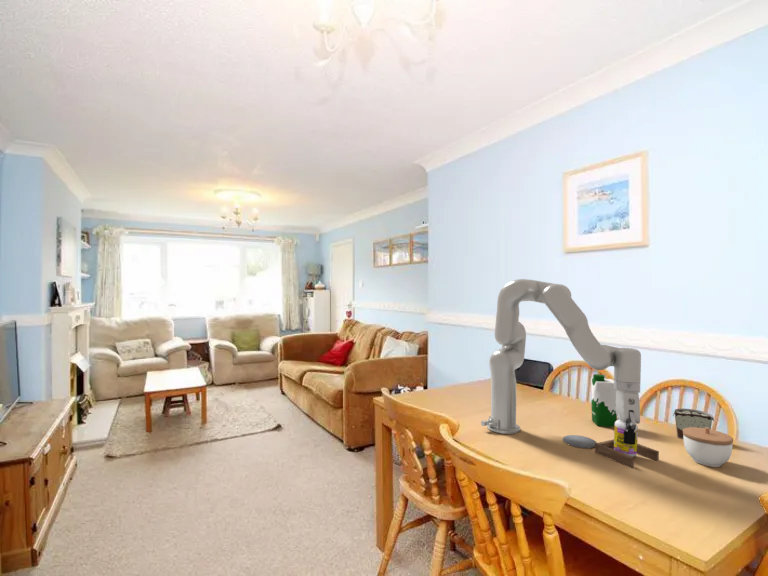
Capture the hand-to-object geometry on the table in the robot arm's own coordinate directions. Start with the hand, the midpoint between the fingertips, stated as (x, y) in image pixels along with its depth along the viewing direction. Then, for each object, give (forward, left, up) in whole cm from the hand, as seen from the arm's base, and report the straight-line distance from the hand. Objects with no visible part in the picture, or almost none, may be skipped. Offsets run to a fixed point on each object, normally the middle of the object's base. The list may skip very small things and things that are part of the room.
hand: (625, 438), depth 133 cm
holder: (0, 0, -6) cm, 6 cm away
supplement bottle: (0, 0, -5) cm, 5 cm away
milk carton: (+22, +25, -6) cm, 34 cm away
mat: (-4, +15, -6) cm, 16 cm away
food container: (+39, +2, -6) cm, 40 cm away
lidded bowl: (+20, -13, -6) cm, 25 cm away
